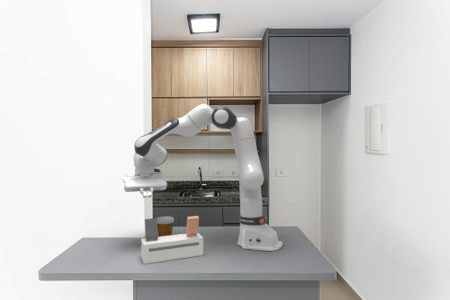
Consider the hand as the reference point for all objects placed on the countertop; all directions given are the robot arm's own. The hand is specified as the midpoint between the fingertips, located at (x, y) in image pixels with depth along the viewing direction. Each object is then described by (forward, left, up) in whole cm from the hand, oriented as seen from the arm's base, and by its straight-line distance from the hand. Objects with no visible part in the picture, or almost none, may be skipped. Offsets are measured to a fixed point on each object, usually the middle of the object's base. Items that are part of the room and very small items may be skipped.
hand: (147, 196), depth 142 cm
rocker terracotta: (-21, -6, -16) cm, 27 cm away
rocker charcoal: (-10, +8, -16) cm, 21 cm away
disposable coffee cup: (+2, -15, -26) cm, 30 cm away
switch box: (-15, +1, -25) cm, 30 cm away
